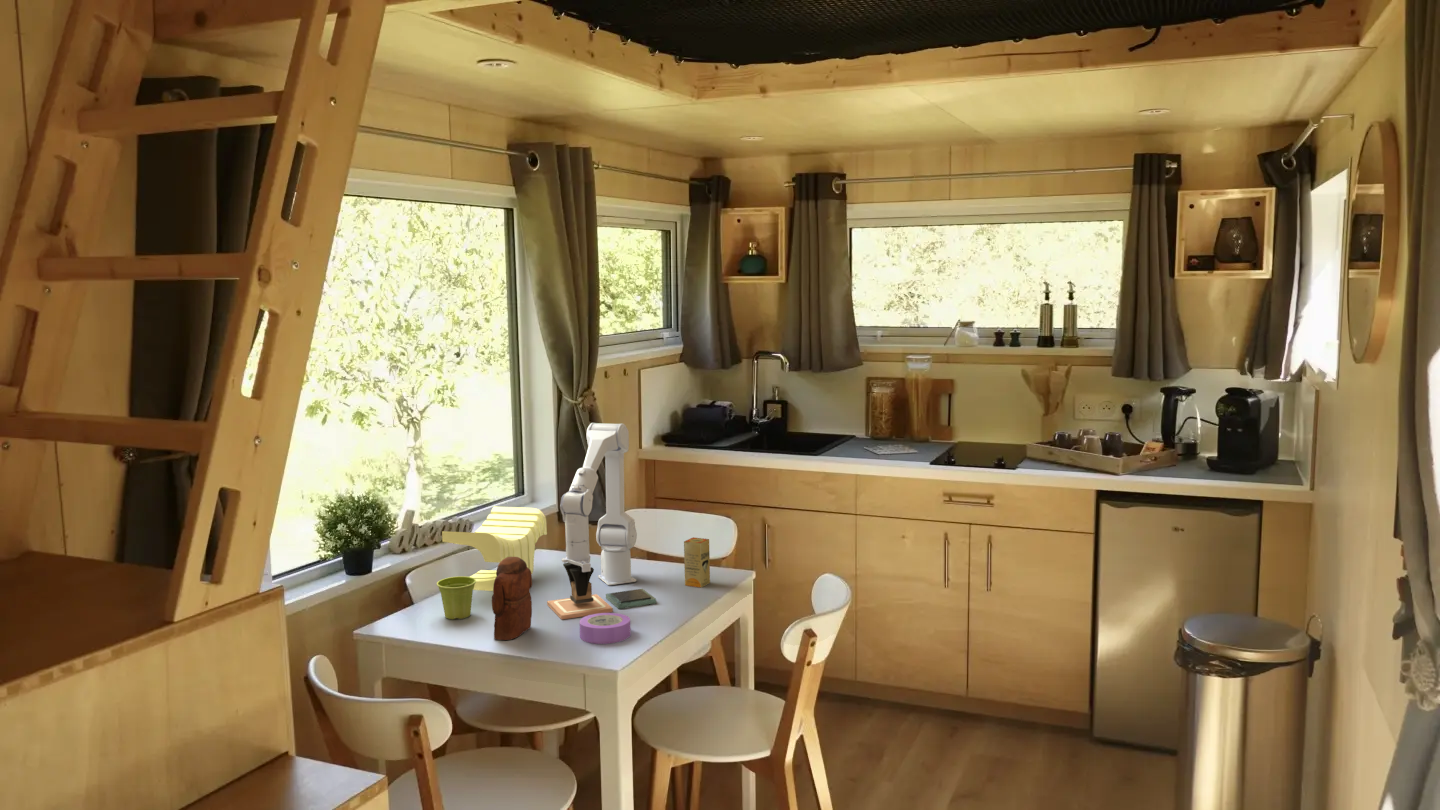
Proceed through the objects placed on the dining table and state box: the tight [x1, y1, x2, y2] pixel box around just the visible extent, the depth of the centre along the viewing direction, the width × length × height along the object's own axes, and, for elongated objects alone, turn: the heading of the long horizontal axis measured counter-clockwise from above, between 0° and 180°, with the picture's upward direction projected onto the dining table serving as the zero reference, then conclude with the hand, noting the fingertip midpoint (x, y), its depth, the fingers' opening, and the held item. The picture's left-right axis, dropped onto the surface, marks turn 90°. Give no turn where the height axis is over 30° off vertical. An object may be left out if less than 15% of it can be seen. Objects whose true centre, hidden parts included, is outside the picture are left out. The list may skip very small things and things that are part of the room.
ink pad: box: [605, 588, 657, 610], centre depth 272 cm, size 10×10×2 cm
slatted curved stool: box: [441, 506, 548, 592], centre depth 289 cm, size 30×16×18 cm, turn 166°
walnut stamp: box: [569, 581, 593, 604], centre depth 266 cm, size 5×5×6 cm
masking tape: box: [579, 612, 632, 645], centre depth 247 cm, size 12×12×4 cm
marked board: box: [546, 593, 614, 621], centre depth 267 cm, size 13×13×1 cm
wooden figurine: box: [491, 557, 533, 641], centre depth 248 cm, size 12×6×18 cm, turn 164°
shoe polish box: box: [683, 537, 711, 589], centre depth 286 cm, size 5×5×12 cm
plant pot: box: [436, 575, 476, 620], centre depth 262 cm, size 9×9×9 cm
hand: (579, 593), depth 266 cm, fingers closed on walnut stamp, 4 cm apart
